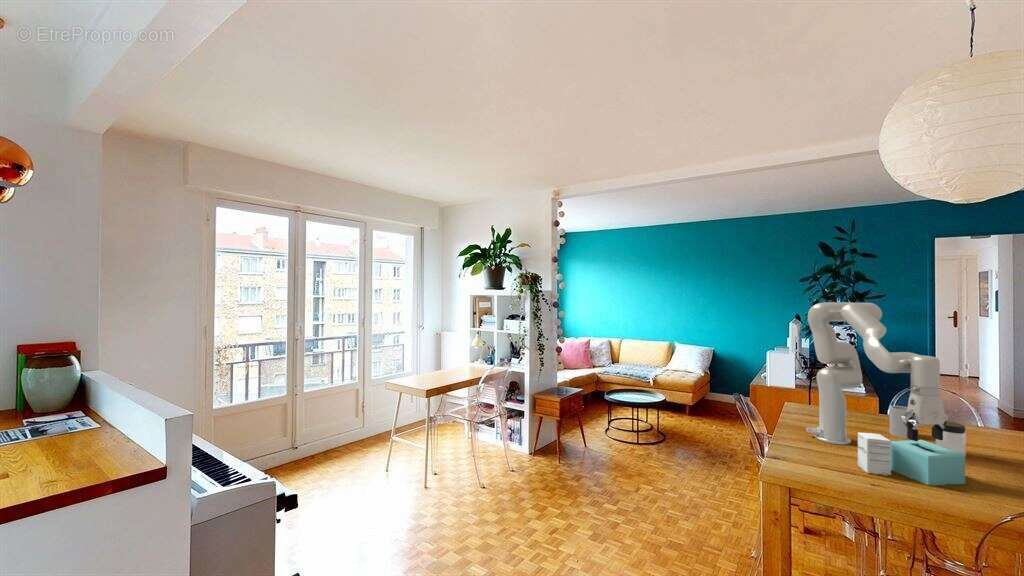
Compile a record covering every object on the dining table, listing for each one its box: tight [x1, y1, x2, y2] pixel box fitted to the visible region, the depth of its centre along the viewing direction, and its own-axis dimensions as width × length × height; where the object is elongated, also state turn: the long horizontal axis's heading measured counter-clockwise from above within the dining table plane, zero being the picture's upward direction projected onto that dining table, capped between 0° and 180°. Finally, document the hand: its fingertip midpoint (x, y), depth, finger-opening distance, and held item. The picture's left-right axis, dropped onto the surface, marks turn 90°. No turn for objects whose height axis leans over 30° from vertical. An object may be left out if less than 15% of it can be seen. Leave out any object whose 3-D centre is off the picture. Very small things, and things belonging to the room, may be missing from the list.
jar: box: [935, 420, 967, 457], centre depth 174 cm, size 9×8×12 cm
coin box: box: [890, 439, 966, 486], centre depth 154 cm, size 14×14×10 cm
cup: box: [889, 405, 918, 439], centre depth 197 cm, size 9×9×12 cm
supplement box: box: [857, 431, 892, 476], centre depth 158 cm, size 7×7×13 cm
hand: (925, 439), depth 154 cm, fingers open, 9 cm apart
